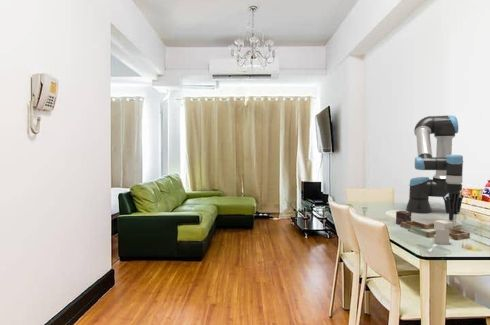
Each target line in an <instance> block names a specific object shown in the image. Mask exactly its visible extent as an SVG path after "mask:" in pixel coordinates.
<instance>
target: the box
mask: <svg viewBox="0 0 490 325" xmlns="http://www.w3.org/2000/svg"><path fill="white" fill-rule="evenodd" d="M412 213H413V212H410V211H407V210H398V211H396V212H395V214H396V215H395V224H397V225H401V222H407V221H412Z"/></svg>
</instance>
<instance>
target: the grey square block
mask: <svg viewBox="0 0 490 325" xmlns="http://www.w3.org/2000/svg"><path fill="white" fill-rule="evenodd" d="M435 231H436V234H435V235H434V237H433V243H434V244H436V245H450V239H451V240H453V239H452V238H451V237H450V236H449V230H444V229H436V230H435Z"/></svg>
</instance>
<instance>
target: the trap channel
mask: <svg viewBox="0 0 490 325" xmlns="http://www.w3.org/2000/svg"><path fill="white" fill-rule="evenodd" d="M399 225H400V224H399ZM400 228H404V229H407V232H411V233H413V234H416V235H420V236H422V237H426V238H434V235H435V234H436V230H432V229H434V222H432V223H426V224H425V223H423V222H419V221H416V220H411V221H407V222H401V225H400ZM429 229H431V230H432V231H431V230H430V231H428V230H429ZM470 235H471V233H470V232H467V231H464V230H462V228H461V227H452V228H451V232H449V236H450V237H451V238H452V239H451V240H454V241H460V240H465V239H466V240H467V239H470V238H471V236H470Z"/></svg>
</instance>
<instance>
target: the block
mask: <svg viewBox="0 0 490 325" xmlns="http://www.w3.org/2000/svg"><path fill="white" fill-rule="evenodd" d="M433 223H434V228H433V231H436V229H444V230H449V232H451V228H454V226H453V222H449V221H448V220H444V219H439V220H434V222H433Z"/></svg>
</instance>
